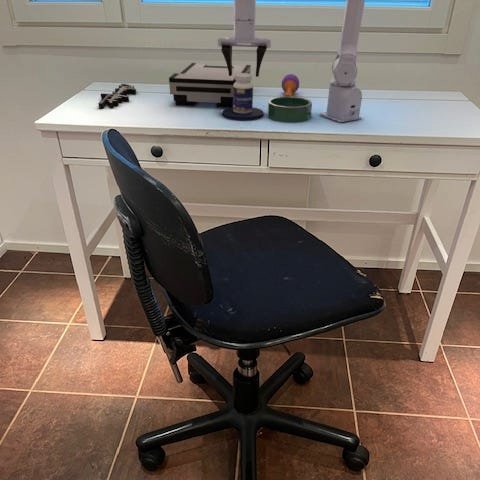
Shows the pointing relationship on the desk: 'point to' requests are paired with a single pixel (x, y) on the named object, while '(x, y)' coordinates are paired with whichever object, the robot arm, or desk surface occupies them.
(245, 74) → the pill bottle
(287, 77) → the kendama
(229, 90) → the game console
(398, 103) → the desk surface
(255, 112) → the navy blue disc
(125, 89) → the dark jagged flat part
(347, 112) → the robot arm
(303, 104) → the ring
